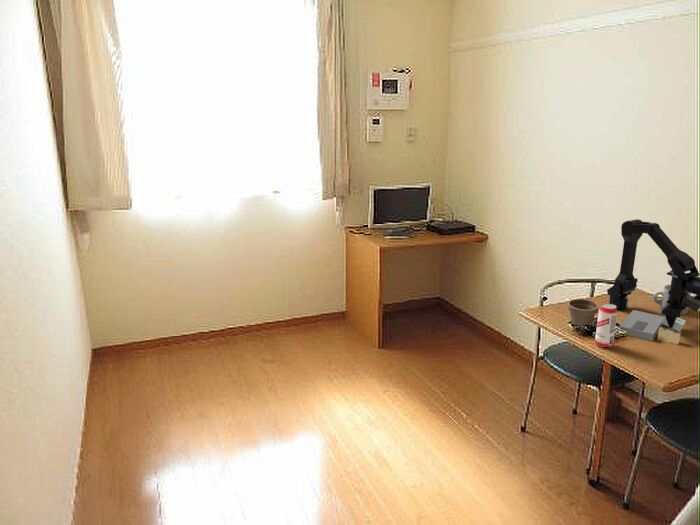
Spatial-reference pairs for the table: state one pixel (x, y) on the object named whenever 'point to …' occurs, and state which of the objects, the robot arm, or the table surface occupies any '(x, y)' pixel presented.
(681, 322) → the cover
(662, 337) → the gold faceted block
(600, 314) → the beer can
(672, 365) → the table surface
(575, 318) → the flower pot
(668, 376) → the table surface
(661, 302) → the coffee mug
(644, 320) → the housing
